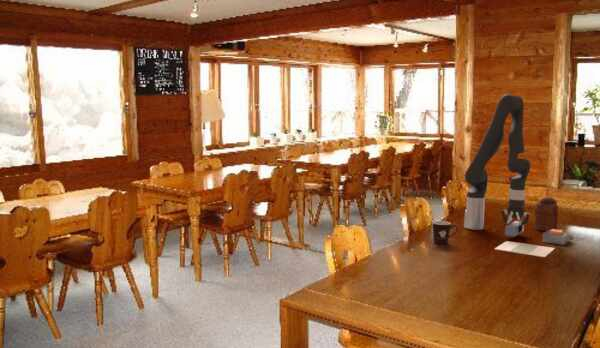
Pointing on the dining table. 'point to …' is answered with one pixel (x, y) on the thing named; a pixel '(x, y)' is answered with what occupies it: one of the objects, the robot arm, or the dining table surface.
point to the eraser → (513, 229)
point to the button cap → (556, 232)
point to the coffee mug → (442, 232)
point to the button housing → (555, 238)
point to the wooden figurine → (546, 214)
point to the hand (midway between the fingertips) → (514, 231)
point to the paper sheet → (525, 248)
